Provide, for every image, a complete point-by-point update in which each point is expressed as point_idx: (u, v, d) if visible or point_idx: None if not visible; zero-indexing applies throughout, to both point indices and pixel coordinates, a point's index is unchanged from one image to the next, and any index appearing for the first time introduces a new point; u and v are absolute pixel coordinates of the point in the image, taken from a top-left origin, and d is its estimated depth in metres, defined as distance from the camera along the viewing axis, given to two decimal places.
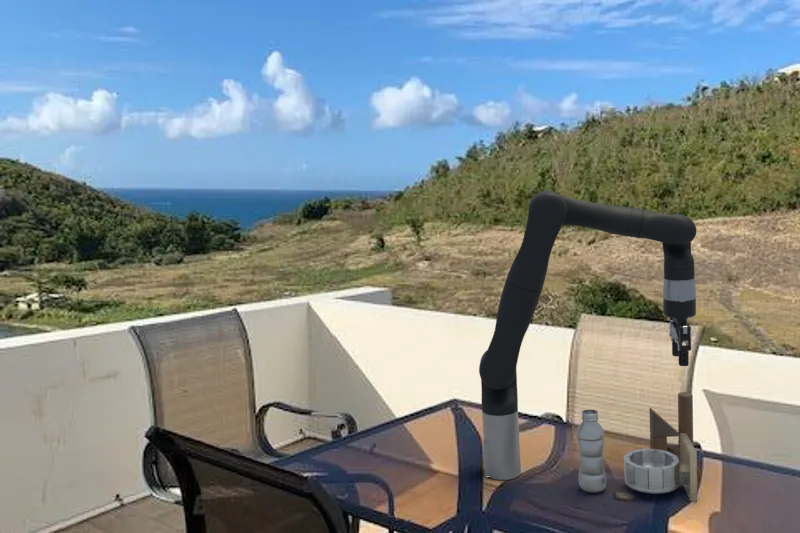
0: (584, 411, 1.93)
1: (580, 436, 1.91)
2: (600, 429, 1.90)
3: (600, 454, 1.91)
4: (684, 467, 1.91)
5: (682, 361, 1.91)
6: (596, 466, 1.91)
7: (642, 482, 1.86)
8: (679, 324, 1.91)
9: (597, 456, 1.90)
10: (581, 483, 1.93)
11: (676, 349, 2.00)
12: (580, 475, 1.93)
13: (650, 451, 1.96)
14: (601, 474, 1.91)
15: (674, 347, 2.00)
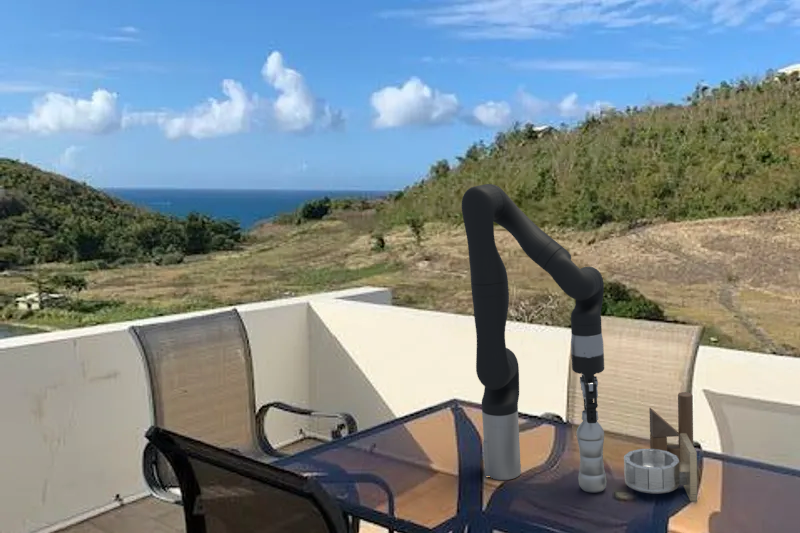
0: (584, 411, 1.93)
1: (580, 436, 1.91)
2: (600, 429, 1.90)
3: (600, 454, 1.91)
4: (684, 467, 1.91)
5: (590, 418, 1.86)
6: (596, 466, 1.91)
7: (642, 482, 1.86)
8: (586, 380, 1.86)
9: (597, 456, 1.90)
10: (581, 483, 1.93)
11: None
12: (580, 475, 1.93)
13: (650, 451, 1.96)
14: (601, 474, 1.91)
15: (586, 401, 1.95)
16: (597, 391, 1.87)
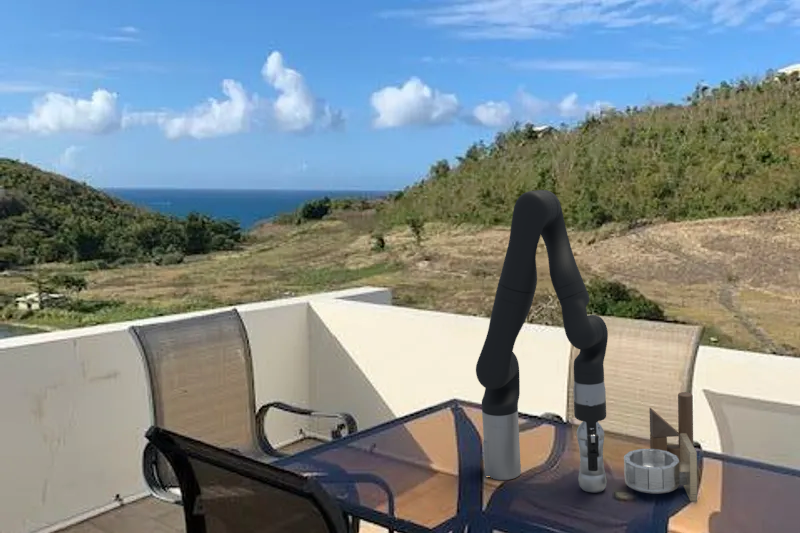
0: None
1: (580, 436, 1.90)
2: (600, 429, 1.90)
3: (600, 454, 1.91)
4: (684, 467, 1.91)
5: (591, 466, 1.89)
6: None
7: (642, 482, 1.86)
8: (588, 429, 1.88)
9: None
10: (581, 483, 1.93)
11: None
12: (580, 475, 1.93)
13: (650, 451, 1.96)
14: (601, 474, 1.91)
15: None
16: None
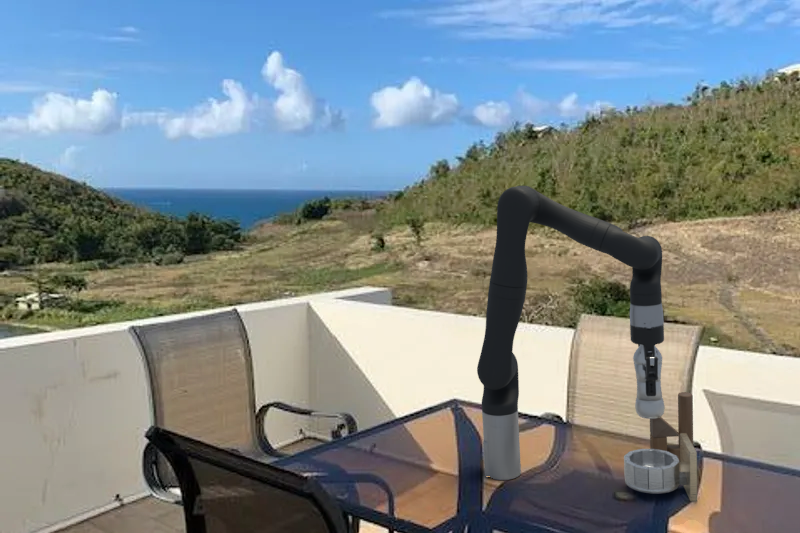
0: None
1: (637, 360, 1.85)
2: (658, 353, 1.85)
3: (658, 379, 1.86)
4: (684, 467, 1.91)
5: (649, 391, 1.84)
6: None
7: (642, 482, 1.86)
8: (646, 352, 1.83)
9: None
10: (638, 410, 1.88)
11: None
12: (637, 402, 1.88)
13: (650, 451, 1.96)
14: (659, 400, 1.86)
15: None
16: None
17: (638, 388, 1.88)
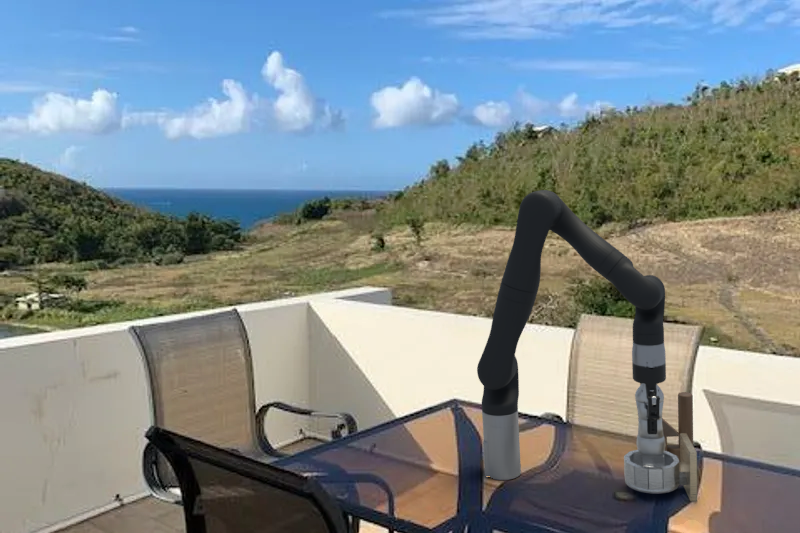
0: None
1: (639, 399, 1.87)
2: (660, 391, 1.86)
3: (660, 417, 1.87)
4: (684, 467, 1.91)
5: (650, 429, 1.86)
6: None
7: (642, 482, 1.86)
8: (648, 391, 1.84)
9: (657, 419, 1.87)
10: (640, 447, 1.89)
11: None
12: (639, 439, 1.90)
13: None
14: (661, 437, 1.88)
15: None
16: None
17: (640, 426, 1.89)
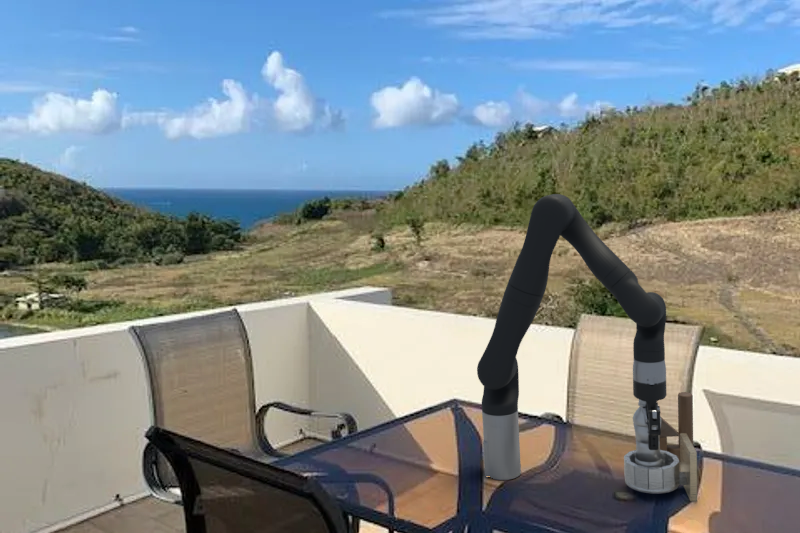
0: None
1: (637, 422, 1.89)
2: None
3: None
4: (684, 467, 1.91)
5: (652, 445, 1.85)
6: (653, 452, 1.89)
7: (642, 482, 1.86)
8: (649, 407, 1.85)
9: None
10: None
11: None
12: (636, 461, 1.91)
13: None
14: (658, 460, 1.90)
15: None
16: None
17: (637, 448, 1.91)
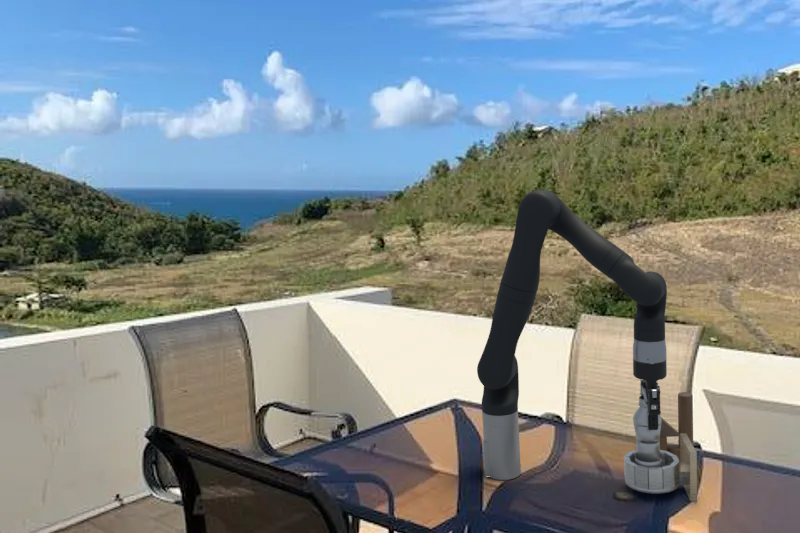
0: (641, 397, 1.91)
1: (637, 422, 1.89)
2: (658, 415, 1.88)
3: (657, 440, 1.89)
4: (684, 467, 1.91)
5: (651, 425, 1.84)
6: (653, 452, 1.89)
7: (642, 482, 1.86)
8: (649, 387, 1.84)
9: (654, 442, 1.89)
10: None
11: None
12: (636, 461, 1.91)
13: None
14: (658, 460, 1.90)
15: None
16: None
17: (637, 448, 1.91)
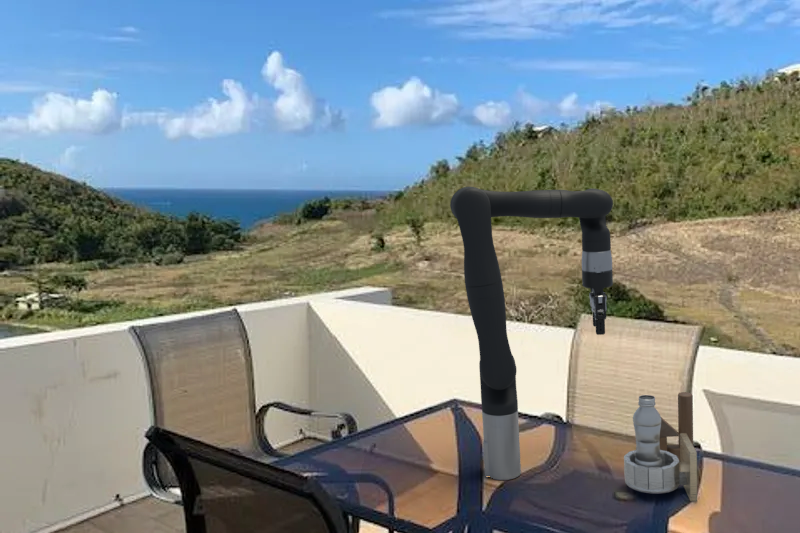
0: (640, 397, 1.91)
1: (637, 422, 1.89)
2: (657, 415, 1.89)
3: (657, 440, 1.89)
4: (684, 467, 1.91)
5: (598, 330, 1.98)
6: (653, 452, 1.89)
7: (642, 482, 1.86)
8: (595, 294, 1.98)
9: (654, 442, 1.89)
10: None
11: None
12: (636, 461, 1.92)
13: None
14: (658, 460, 1.90)
15: (594, 317, 2.07)
16: None
17: (637, 448, 1.91)
